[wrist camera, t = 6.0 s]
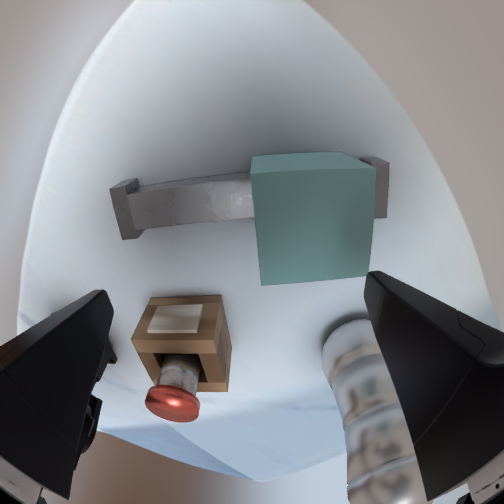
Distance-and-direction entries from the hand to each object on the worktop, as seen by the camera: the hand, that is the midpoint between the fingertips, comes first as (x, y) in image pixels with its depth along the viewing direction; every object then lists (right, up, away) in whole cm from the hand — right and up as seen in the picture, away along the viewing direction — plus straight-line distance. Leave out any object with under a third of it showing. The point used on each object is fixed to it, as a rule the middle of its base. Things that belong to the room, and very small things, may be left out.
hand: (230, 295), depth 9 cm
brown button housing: (-4, -5, +14) cm, 16 cm away
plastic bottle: (+10, -6, +15) cm, 19 cm away
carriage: (+3, +6, +9) cm, 11 cm away
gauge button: (-4, -6, +12) cm, 14 cm away
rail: (+1, +5, +9) cm, 11 cm away
